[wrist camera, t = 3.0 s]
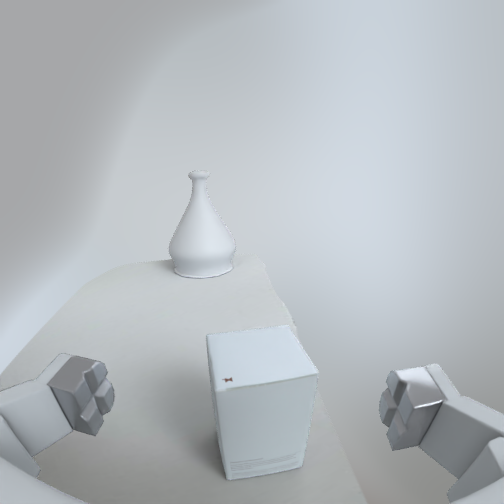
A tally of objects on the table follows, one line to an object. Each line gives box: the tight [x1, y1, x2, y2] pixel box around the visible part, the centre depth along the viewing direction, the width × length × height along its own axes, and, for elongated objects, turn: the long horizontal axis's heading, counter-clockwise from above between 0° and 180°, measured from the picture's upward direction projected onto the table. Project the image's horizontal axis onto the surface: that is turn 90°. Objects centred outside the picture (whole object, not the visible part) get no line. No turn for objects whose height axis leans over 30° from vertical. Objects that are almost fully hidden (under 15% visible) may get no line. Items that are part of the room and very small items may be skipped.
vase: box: [169, 171, 236, 278], centre depth 74 cm, size 17×17×25 cm
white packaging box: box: [206, 325, 319, 480], centre depth 23 cm, size 7×7×13 cm
